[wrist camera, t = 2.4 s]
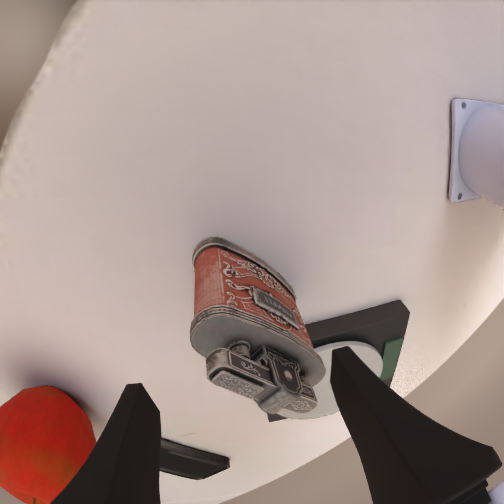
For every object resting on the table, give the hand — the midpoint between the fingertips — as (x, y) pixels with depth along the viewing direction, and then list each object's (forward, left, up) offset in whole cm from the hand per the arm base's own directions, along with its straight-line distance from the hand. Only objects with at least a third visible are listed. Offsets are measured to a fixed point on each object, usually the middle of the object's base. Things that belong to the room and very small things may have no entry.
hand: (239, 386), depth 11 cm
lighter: (-1, +2, -11) cm, 11 cm away
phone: (+13, +27, -10) cm, 32 cm away
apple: (+21, +13, -11) cm, 27 cm away
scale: (-7, +13, -10) cm, 18 cm away
